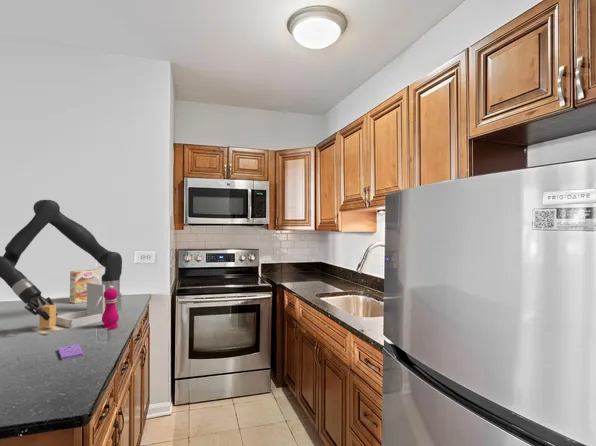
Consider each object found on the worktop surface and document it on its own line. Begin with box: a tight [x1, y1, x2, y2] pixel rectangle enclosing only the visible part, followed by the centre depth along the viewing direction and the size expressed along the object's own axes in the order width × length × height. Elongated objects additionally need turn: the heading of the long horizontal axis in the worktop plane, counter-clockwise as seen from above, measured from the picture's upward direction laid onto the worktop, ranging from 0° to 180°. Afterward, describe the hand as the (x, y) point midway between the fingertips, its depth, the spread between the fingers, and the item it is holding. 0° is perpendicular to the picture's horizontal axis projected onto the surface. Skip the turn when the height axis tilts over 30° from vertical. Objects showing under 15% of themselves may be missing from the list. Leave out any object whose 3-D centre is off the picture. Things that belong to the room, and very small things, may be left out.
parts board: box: [30, 325, 66, 337], centre depth 167 cm, size 9×12×1 cm
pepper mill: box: [101, 286, 120, 331], centre depth 173 cm, size 7×7×20 cm
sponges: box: [57, 343, 84, 360], centre depth 139 cm, size 7×13×2 cm, turn 39°
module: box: [39, 304, 57, 327], centre depth 167 cm, size 4×4×9 cm
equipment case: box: [56, 283, 105, 329], centre depth 179 cm, size 17×14×18 cm
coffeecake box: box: [69, 268, 100, 305], centre depth 231 cm, size 15×7×20 cm, turn 147°
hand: (52, 317), depth 167 cm, fingers closed on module, 4 cm apart
